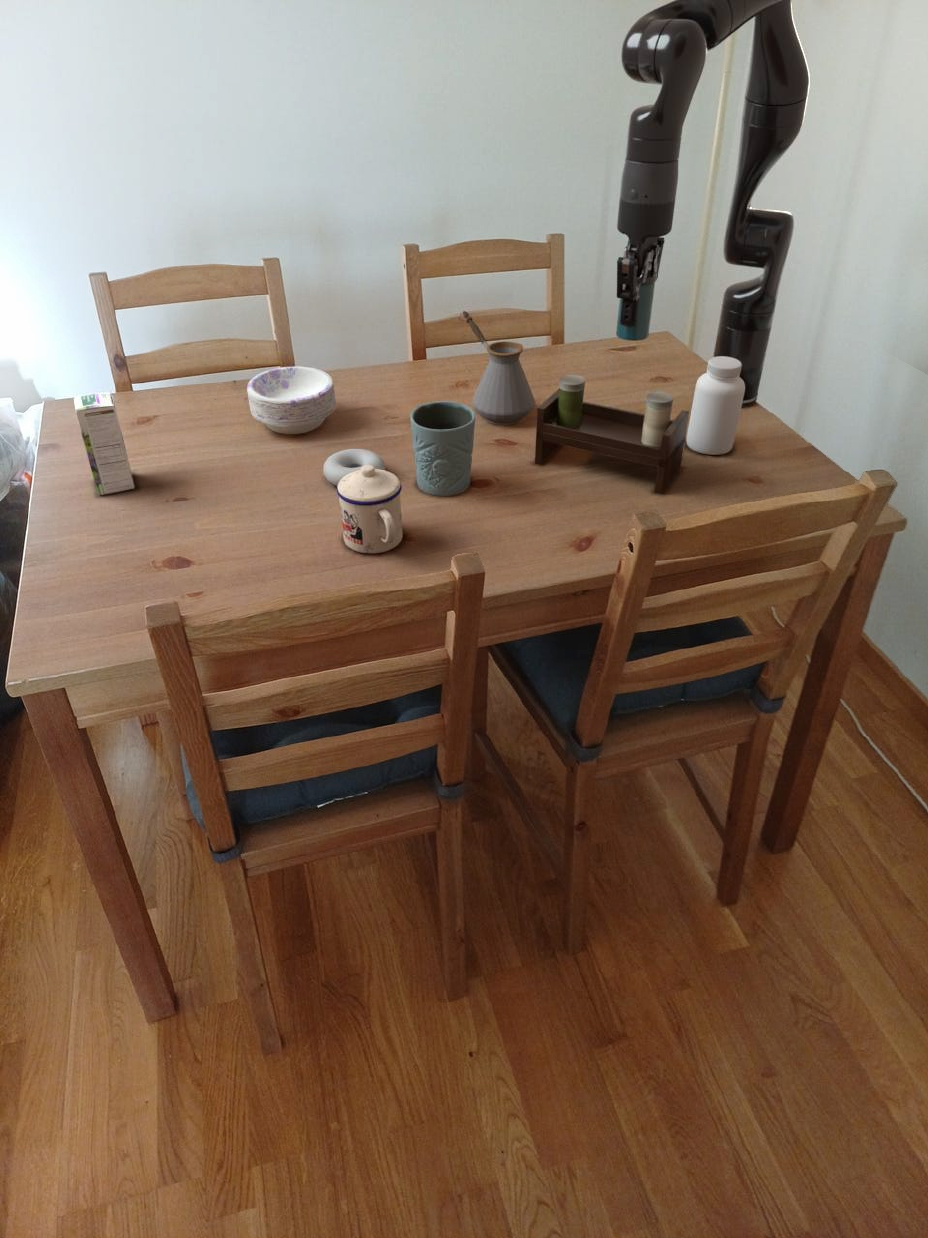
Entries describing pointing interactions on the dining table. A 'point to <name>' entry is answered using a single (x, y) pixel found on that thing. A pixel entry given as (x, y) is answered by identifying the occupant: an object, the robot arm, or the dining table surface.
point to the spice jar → (639, 312)
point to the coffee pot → (502, 383)
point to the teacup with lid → (370, 510)
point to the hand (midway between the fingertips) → (634, 318)
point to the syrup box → (104, 442)
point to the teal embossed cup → (443, 446)
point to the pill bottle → (716, 407)
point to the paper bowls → (291, 398)
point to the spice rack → (612, 429)
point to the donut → (349, 463)
